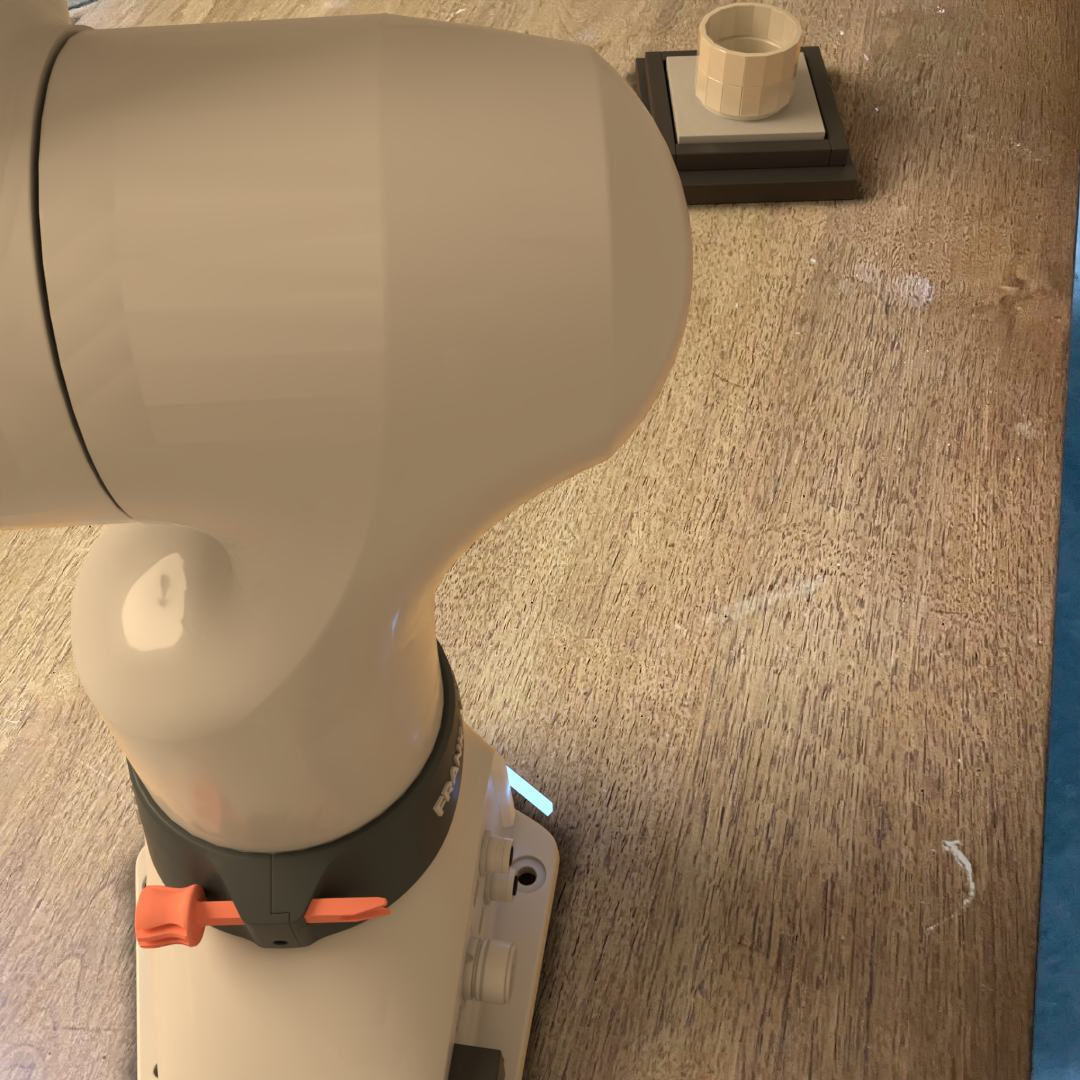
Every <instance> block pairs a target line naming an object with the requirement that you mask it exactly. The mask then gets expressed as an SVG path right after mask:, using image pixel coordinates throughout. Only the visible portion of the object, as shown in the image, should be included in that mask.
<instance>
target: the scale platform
mask: <svg viewBox="0 0 1080 1080" xmlns="http://www.w3.org/2000/svg"><path fill="white" fill-rule="evenodd" d="M696 58H697V56H674V57H667V60H666V82H667V88H668V95H669V102H670V109H671V116H672V122H673V129H674V136H675V143H676V144H698V143H729V142H759V141H790V140H820V139H824V137H825V128H824V125H823V121H822V118H821V114H820V111H819V107H818V103H817V100H816V96H815V93H814V89H813V86H812V82H811V78H810V75H809V71H808V68H807V64H806V60H805V57H804V53H803V52H800V54H799V61H798V67H797V73H796V80H795V86H794V93H793V95H792V97H791V99H790V101H789V103H788V104H787V105H785V106H784V107H783V108H782V109H781V110H780V111H779V112H778V113H776V114H774V115H772V116H770V117H767V118H764V119H760V120H752V121H739V120H732V119H727V118H723V117H720V116H718V115H716V114H714V113H712V112H710V111H709V110H708V109H706V108H705V107H704V106H703V104H702V103H701V101H700V100H699V99H698V97H697V96H696V93H695V86H694V82H695V70H696Z"/></svg>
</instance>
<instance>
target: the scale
mask: <svg viewBox="0 0 1080 1080" xmlns="http://www.w3.org/2000/svg"><path fill="white" fill-rule="evenodd" d="M800 52H803V53H804V57H805V60H806V64H807V68H808V71H809V75H810V78H811V82H812V86H813V89H814V93H815V96H816V100H817V103H818V107H819V111H820V114H821V118H822V121H823V125H824V128H825V137H824V139H820V140H790V141H759V142H729V143H698V144H676V143H675V136H674V129H673V122H672V116H671V109H670V102H669V95H668V88H667V82H666V60H667V57H674V56H697V49H687V50H686V49H685V50H662V51H661V50H659V51H655V50H654V51H645V52H644V57H636V58H635V63H634V64H635V65H634V67H635V68H634V80H635V88H636V94H637V96H638V97H639V98H640V100H641V101H642V103H643V104H644V106H645V107H646V109H647V110H648V112H649V113H650V114H651V116H652V118H653V119H654V121H655V123H656V125H657V127H658V129H659V131H660V133H661V134H662V136H663V138H664V140H665V142H666V144H667V146H668V148H669V150H670V153H671V156H672V158H673V161H674V163H675V166H676V168H677V171H678V174H679V176H680V180H681V183H682V187H683V191H684V195H685V199H686V203H687V205H708V204H709V205H711V204H739V203H740V204H742V203H744V204H745V203H770V202H771V203H773V202H803V201H834V200H835V201H837V200H854V199H855V195H856V190H857V186H858V182H859V179H858V176H857V173H856V168H855V165H854V162H853V159H852V155H851V152H850V146H849V142H848V139H847V136H846V132H845V129H844V126H843V123H842V120H841V115H840V112H839V109H838V106H837V102H836V99H835V95H834V91H833V88H832V85H831V82H830V78H829V75H828V72H827V69H826V65H825V62H824V58H823V55H822V52H821V48H820V46H819V45H812V46H811V45H810V46H808V45H807V46H801V48H800Z"/></svg>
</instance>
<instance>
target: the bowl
mask: <svg viewBox="0 0 1080 1080" xmlns="http://www.w3.org/2000/svg"><path fill="white" fill-rule="evenodd" d="M698 25H699V26H698V35H697V47H696V50H697V58H696V70H695V82H694V86H695V93H696V96H697V97H698V99H699V100H700V101H701V103H702V104H703V106H704V107H705V108H706V109H708V110H709V111H710V112H712V113H714V114H716V115H718V116H720V117H723V118H727V119H732V120H739V121H752V120H760V119H764V118H767V117H770V116H772V115H774V114H776V113H778V112H779V111H780V110H781V109H782V108H783V107H784V106H785V105H787V104H788V103H789V101H790V99H791V97H792V95H793V93H794V86H795V80H796V73H797V67H798V61H799V54H800V48H801V47H802V40H803V34H804V31H803V27H802V25H801V21H800V20H799V19H798V18H797V17H796V16H794V15H793V14H792V13H791V12H790V11H787V10H785V9H783V8H781V7H778V6H777V5H773V4H768V3H761V2H756V1H755V2H754V1H749V2H733V3H729V4H724V5H721V6H717V7H716V8H714V9H712V10H711V11H709V12H708V13H706V14H705V15H704V17H703V18H702V20H701V21H700V22H699V24H698Z"/></svg>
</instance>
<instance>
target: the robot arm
mask: <svg viewBox="0 0 1080 1080" xmlns="http://www.w3.org/2000/svg"><path fill="white" fill-rule="evenodd" d="M691 226H692V225H691V218H690V212H689V208H688V204H687V203H686V199H685V195H684V191H683V187H682V183H681V180H680V176H679V174H678V171H677V168H676V166H675V163H674V161H673V158H672V156H671V153H670V150H669V148H668V146H667V144H666V142H665V140H664V138H663V136H662V134H661V133H660V131H659V129H658V127H657V125H656V123H655V121H654V119H653V118H652V116H651V114H650V113H649V112H648V110H647V109H646V107H645V106H644V104H643V103H642V101H641V100H640V98H639V97H638V96H637V92H636V91H635V90H634V88H632V86H631V85H630V84H629V83H628V82H627V80H626V79H624V77H623V76H622V75H621V74H620V73H619V71H618V70H617V69H616V68H615V67H614V66H613V65H611V64H610V63H609V62H608V60H606V59H605V58H604V57H603V56H602V55H601V54H600V53H599V52H598V51H596V49H595V48H594V47H592V46H590V45H588V44H585V43H581V42H576V41H575V42H574V41H570V40H565V39H564V40H563V39H559V38H551V37H546V36H542V35H541V36H540V35H536V34H530V33H525V32H518V31H513V30H507V29H502V28H495V27H490V26H483V25H477V24H476V25H475V24H469V23H461V22H454V21H445V20H438V19H429V18H425V17H417V16H416V17H415V16H408V15H401V14H393V13H388V12H384V13H367V14H366V13H365V14H348V15H329V16H328V15H327V16H312V17H311V16H310V17H295V18H293V17H292V18H276V19H275V18H274V19H256V20H241V21H223V22H222V21H221V22H204V23H202V22H201V23H187V24H186V23H185V24H169V25H150V26H132V27H131V26H130V27H114V28H113V27H112V28H94V27H91V26H89V25H86V24H74V23H72V21H71V15H70V10H69V6H68V0H0V532H5V531H6V532H7V531H23V530H35V529H36V530H37V529H55V528H68V527H70V528H71V527H85V526H101V525H106V527H105V528H104V529H103V531H102V532H101V534H100V535H99V536H98V538H97V539H96V541H95V542H94V544H93V545H92V547H91V548H90V551H89V552H88V554H87V556H86V558H85V559H84V562H83V563H82V566H81V569H80V571H79V574H78V577H77V580H76V583H75V586H74V590H73V593H72V599H71V606H70V607H71V608H70V626H69V627H70V643H71V652H72V658H73V662H74V666H75V670H76V673H77V676H78V679H79V681H80V684H81V686H82V687H83V690H84V692H85V694H86V696H87V697H88V699H89V700H90V702H91V704H92V705H93V707H94V708H95V710H96V712H97V713H98V714H99V716H100V717H101V719H102V721H103V722H104V724H105V725H106V726H107V728H108V730H109V731H110V733H111V735H112V737H113V738H114V739H115V741H116V743H117V745H118V746H119V748H120V749H121V751H122V753H123V754H124V755H125V759H126V765H127V769H128V777H129V786H130V793H131V798H132V799H133V803H134V804H133V807H134V811H135V815H136V818H137V822H138V825H141V826H142V829H143V833H144V834H143V836H144V846H143V847H142V848H141V849H140V851H139V852H138V855H137V857H136V861H135V866H134V867H135V868H134V869H135V871H134V872H135V873H134V875H135V877H134V879H135V914H134V929H135V930H134V932H135V933H134V934H135V968H136V969H135V971H136V972H135V977H136V1067H137V1068H136V1071H137V1074H136V1076H137V1079H136V1080H523V1074H524V1068H525V1064H526V1063H525V1062H526V1057H527V1051H528V1045H529V1039H530V1034H531V1029H532V1023H533V1017H534V1010H535V1006H536V1000H537V994H538V987H539V982H540V978H541V971H542V966H543V961H544V960H543V959H544V956H545V955H544V954H545V949H546V942H547V937H548V931H549V926H550V920H551V915H552V909H553V903H554V897H555V892H556V885H557V880H558V875H559V868H560V862H561V861H560V852H559V849H558V848H559V847H558V844H557V842H556V839H555V837H554V836H553V835H552V834H551V832H550V831H549V830H548V829H547V828H546V827H544V826H543V825H541V824H540V823H539V822H537V821H536V820H534V819H532V818H531V817H530V816H528V815H526V814H525V813H523V812H521V811H520V810H518V809H516V808H515V804H514V803H515V802H514V798H513V793H512V788H513V789H514V790H516V792H517V793H519V794H520V795H522V797H524V798H525V799H526V800H527V801H529V803H531V804H532V805H534V806H535V808H537V809H539V811H541V812H542V813H543V814H544V815H546V816H547V817H549V815H551V814H552V813H553V802H552V801H551V800H549V799H548V798H547V797H546V796H544V795H543V794H542V793H541V792H539V790H538V789H536V788H535V787H533V786H532V785H531V784H530V783H529V782H527V781H526V780H525V779H524V778H522V777H521V776H520V775H519V774H518V773H516V772H515V771H514V770H513V769H512V768H510V767H509V766H508V765H507V763H506V759H505V757H503V755H501V754H500V753H498V752H497V749H496V748H495V747H493V745H491V744H490V743H488V741H487V740H485V739H484V737H482V736H481V735H480V734H479V733H478V732H476V731H475V729H473V728H472V727H471V726H470V725H469V724H468V723H467V722H466V721H465V719H464V718H465V717H464V715H463V714H461V711H463V708H464V707H463V702H462V697H461V692H460V689H459V685H458V682H457V679H456V674H455V672H454V670H453V668H452V666H451V664H450V661H449V659H448V657H447V655H446V653H445V650H444V648H443V646H442V644H441V643H440V641H439V639H438V637H437V633H436V591H437V589H438V587H439V585H440V584H441V582H442V580H443V579H444V577H445V576H446V575H447V573H448V572H449V571H450V570H451V568H452V567H453V566H454V565H455V563H457V561H458V560H459V559H460V558H461V557H462V556H463V555H464V554H465V553H466V551H467V550H468V549H469V548H471V547H472V546H473V544H474V543H475V542H476V541H477V540H479V539H480V538H481V537H482V536H483V535H484V534H485V533H486V532H488V531H490V529H491V528H492V527H494V526H495V525H496V524H497V523H498V522H499V521H501V520H502V519H504V518H505V517H507V516H508V515H509V514H511V513H512V512H514V511H515V510H517V509H518V508H519V507H521V506H522V505H524V504H526V503H527V502H529V501H530V500H532V499H534V498H535V497H537V496H539V495H540V494H543V493H544V492H545V491H546V492H547V490H549V489H551V488H553V487H555V486H557V485H559V484H561V483H563V482H565V481H567V480H569V479H571V478H574V477H575V476H577V475H579V474H581V473H583V472H585V471H587V470H589V469H591V468H594V467H596V466H598V465H600V464H602V463H605V462H607V461H608V460H610V459H611V458H612V457H613V456H614V455H615V454H616V453H617V452H618V451H619V449H620V448H621V447H622V446H624V444H625V443H626V442H627V441H628V440H629V439H630V438H631V436H632V435H633V434H634V432H635V431H636V430H637V428H638V427H640V425H641V423H643V421H644V420H645V418H646V417H647V415H648V414H649V412H650V410H651V409H652V407H653V406H654V404H655V402H656V400H657V399H658V397H659V396H660V394H661V392H662V391H663V389H664V386H665V384H666V381H667V380H668V378H669V376H670V374H671V371H672V369H673V366H674V365H675V362H676V359H677V356H678V353H679V350H680V347H681V344H682V341H683V338H684V336H685V335H684V334H685V332H686V331H685V330H686V327H687V322H688V316H689V311H690V306H691V301H692V291H693V275H694V274H693V273H694V272H693V271H694V250H693V237H692V227H691ZM524 874H531V875H533V876H534V877H535V881H534V882H533V883H531V884H527V885H525V884H522V883H520V881H519V878H520V877H521V876H522V875H524Z"/></svg>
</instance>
